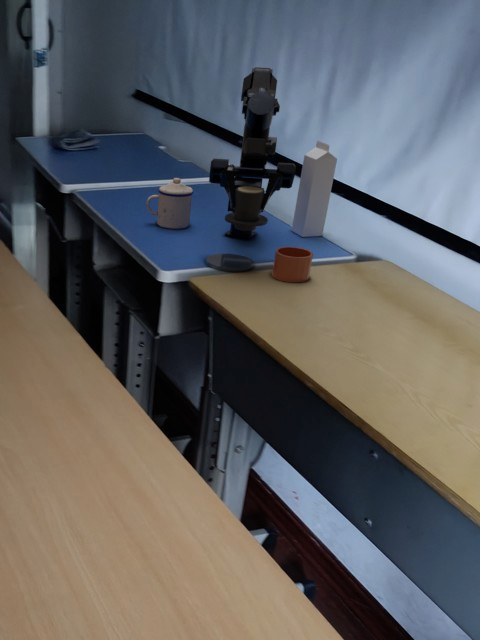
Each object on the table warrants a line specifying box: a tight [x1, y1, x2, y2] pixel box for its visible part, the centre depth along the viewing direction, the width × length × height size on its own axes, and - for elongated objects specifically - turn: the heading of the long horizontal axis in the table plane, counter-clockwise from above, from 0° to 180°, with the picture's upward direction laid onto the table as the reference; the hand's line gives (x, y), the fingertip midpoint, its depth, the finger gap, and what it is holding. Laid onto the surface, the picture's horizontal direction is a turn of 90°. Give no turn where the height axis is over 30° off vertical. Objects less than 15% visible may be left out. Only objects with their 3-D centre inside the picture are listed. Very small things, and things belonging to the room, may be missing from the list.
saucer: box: [205, 253, 254, 272], centre depth 195 cm, size 11×11×1 cm
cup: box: [271, 246, 314, 283], centre depth 188 cm, size 8×8×6 cm
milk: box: [291, 140, 338, 238], centre depth 212 cm, size 6×6×22 cm
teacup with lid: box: [146, 177, 194, 230], centre depth 219 cm, size 12×9×12 cm
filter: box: [224, 186, 269, 231], centre depth 186 cm, size 10×10×8 cm
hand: (247, 207), depth 185 cm, fingers closed on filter, 6 cm apart
